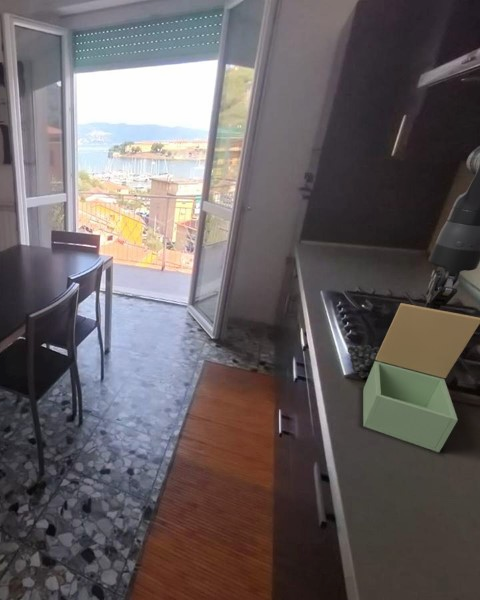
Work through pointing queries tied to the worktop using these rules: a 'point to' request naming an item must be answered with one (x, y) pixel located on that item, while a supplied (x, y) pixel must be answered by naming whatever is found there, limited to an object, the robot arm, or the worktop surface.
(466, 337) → the bin lid
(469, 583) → the worktop surface
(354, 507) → the worktop surface
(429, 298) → the robot arm
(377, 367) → the bin
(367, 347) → the fruit
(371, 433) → the worktop surface
